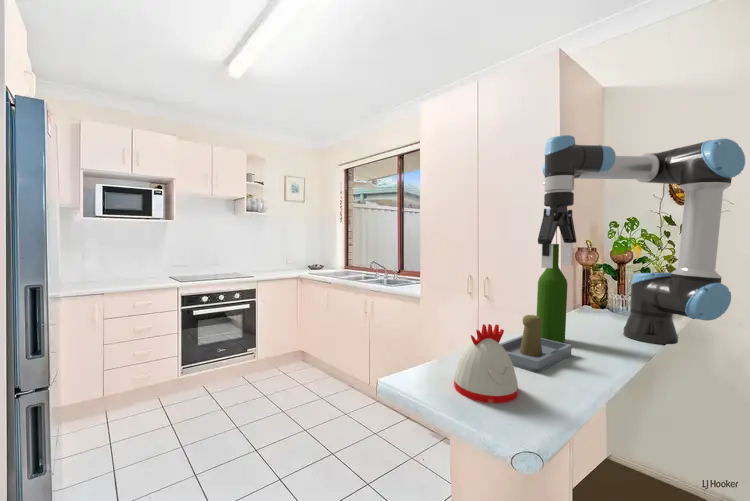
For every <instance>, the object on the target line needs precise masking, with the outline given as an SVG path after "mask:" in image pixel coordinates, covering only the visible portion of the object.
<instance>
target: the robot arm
mask: <svg viewBox="0 0 750 501" xmlns="http://www.w3.org/2000/svg"><path fill="white" fill-rule="evenodd" d="M576 143H577V142H576V138H575V136H573V135H568V134H567V135H557V136H553V137H550V138H548V139H547V140H546V142H545V148H544V163H543V165H542V174H543V176H544V182H543V186H544V192H546V193H545V194H543V195H544V196H543V198H544V200H543V204H544V206H545V207H548V208H544V209H543V216H542V220H541V224H540V229H539V232H538V237H537V243H538V245H541V268H543V269H544V268H545V269H546V268H553V244H554V243H552V242H553V241H554V240H553V239H554V237H555V236H556V232H557V229H558V228H559V232H560V235H561V237H562V241H563V242H562V243H561V265H567V266H572V265H573V252H574V250H573V247H574V246H573V244H576V243H577V236H576V231H575V224H574V219H573V209H568V207H571V206H573V205H574V203H575V202H574V199H575V198H574V197H575V194H574V192H573V191H574V190H575V179H585V180H586V179H589V180H590V179H593V180H594V179H595V180H598V179H599V180H600V179H601V180H636V181H637V182H639V183H649V184H651V183H652V184H666V185H679V189H682V191H683V192H684V200H683V202H684V203H683V212H682V213H683V214H682V224H681V233H680V243H679V245H680V247H679V254H678V264H677V265H678V266H677V268H676V269H675V270H673V271H671V272H637V273H635V274H634V275H633V276H632V280H631V291H630V312H629V316H628V318H627V320H626V323H625V326H624V327H623V335H624V337H626V338H629V339H632V340H636V341H639V342H645V343H651V344H657V345H675V344H678V342H679V335H678V334H677V331H676V330H677V329H676V326H675V323H674V320H673V316H674V315H677V316H682V317H686V318H690V319H692V320H700V321H713V320H717V319H718V318H721V316H722V315H724V314H725V313H726V312H727V311H728V309H729V307H730V305H731V301H732V294H731V291H730V289H729V288H728V286H727V285H724V283H722V275H720V274H719V272H717V271H716V269H717V268H716V267H717V258H718V257H717V255H718V248H719V246H718V245H719V235H720V226H721V217H722V207H723V196H724V191H725V190H726V189H728V188H729V187H731V186H732V178H735V177H737V176H739V175H740V174H741V173H742V171H743V170H744V169H745V166H746V158H745V157H746V156H745V152H744V151H743V148H742V147H741V146H739V144H738V143H737V142H736V141H734V140H733V139H730V138H716V139H709V140H706V141H702V142H698V143H695V144H690V145H689V144H688V145H686V146H682V147H681V146H680V147H676V148H673V149H669V150H665V151H660V152H653V153H650V152H649V153H647V152H646V153H643V154H641V155H638V156H637V155H635V156H634V155H631V156H630V155H616V152H615V150H614V149H613V147H611V146H609V145H601V144H599V145H598V144H597V145H593V144H592V145H591V144H590V145H587V144H576Z"/></svg>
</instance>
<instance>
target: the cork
mask: <svg viewBox="0 0 750 501" xmlns="http://www.w3.org/2000/svg"><path fill="white" fill-rule="evenodd" d="M522 325H523V326H524V327H523V333H522V335H523V337H522V342H521V348H520V353H522V354H524V355H527V356H534V357H538V356H542V346H541V336H540V327H541V326H542V319H541V318H540V317H539V316H537V315H534V314H527V315H524V316H523V317H522Z"/></svg>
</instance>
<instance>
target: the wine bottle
mask: <svg viewBox="0 0 750 501" xmlns="http://www.w3.org/2000/svg"><path fill="white" fill-rule="evenodd" d="M552 244H553V268H545V269H544V271H543V272H542V274H541V275H540V276H539V277H538V281H537V295H536V296H537V298H536V300H537V301H536V316H539V317H540V318H541V319H542V326H541V327H540V336H541V338H544V339H548V340H552V341H557V342H561V343H565V341H566V328H567V327H566V325H567V307H568V306H567V305H568V304H567V302H568V300H567V299H568V281H567V280H568V279H567V278H566V277H565V275H564V273H563V272H562V271H561V269H560V266H559V263H560V260H559V259H560V258H559V257H560V244H559V243H552Z"/></svg>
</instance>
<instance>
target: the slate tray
mask: <svg viewBox="0 0 750 501" xmlns="http://www.w3.org/2000/svg"><path fill="white" fill-rule="evenodd" d="M522 337H523V334H522V335H520V336H517V337H514V338H511V339H508V340H506V341H503V342H501V343H500V342H499V344H500V345H501V346H502V347H503V348H504V349H505V350H506V352H507V353H508V355H509V357H510V359H511V361H512V364H513V367H517V368H519V369H523V370H525V371H530V372H532V373H537V374H539V373H541V372H542V371H545V369H548V368H549V367H552V366H553V365H555V364H557V363H559V362H560V361H562V360H565V359H567V358H569V357H570V356H572V346H573V345H572V344H570V343H565V342H564V343H561V342H557V341H552V340H548V339H544V338H541V346H542V356H538V357H534V356H527V355H524V354H522V353H520V348H521V342H522Z"/></svg>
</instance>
